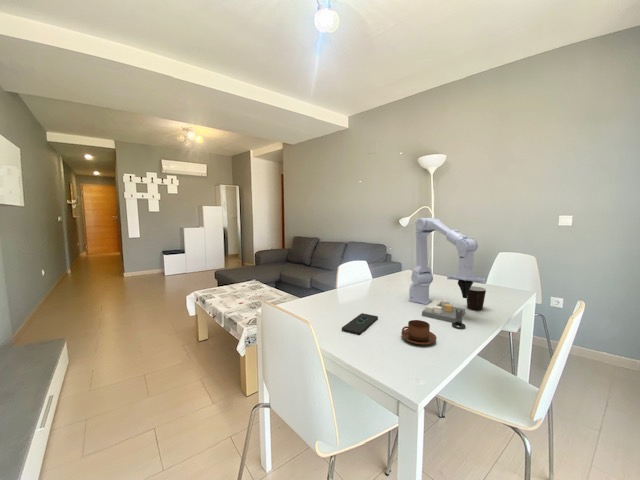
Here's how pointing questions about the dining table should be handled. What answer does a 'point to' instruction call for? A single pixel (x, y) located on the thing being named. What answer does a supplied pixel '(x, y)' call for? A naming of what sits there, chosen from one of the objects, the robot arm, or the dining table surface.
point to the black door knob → (458, 320)
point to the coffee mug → (476, 298)
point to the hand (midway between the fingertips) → (464, 297)
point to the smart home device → (359, 324)
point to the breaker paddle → (448, 308)
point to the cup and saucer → (418, 333)
